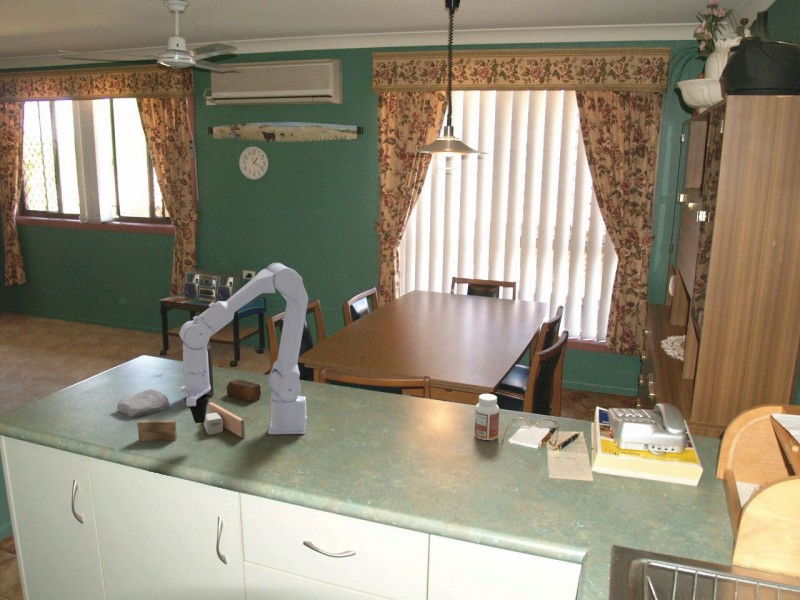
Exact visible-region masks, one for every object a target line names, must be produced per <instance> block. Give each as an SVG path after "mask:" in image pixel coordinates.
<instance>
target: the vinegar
mask: <svg viewBox="0 0 800 600" xmlns="http://www.w3.org/2000/svg"><path fill="white" fill-rule="evenodd" d="M207 351H208V365H209V381H210V386H211V390H210V391H211V396H210V398H212V397H213V396H214V395H215V394H214V374H213V373H214V371H213V356H212V355H213V353H212V352H213V351H212V346H211V345H210V344H209V343H208V344H207Z"/></svg>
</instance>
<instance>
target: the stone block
mask: <svg viewBox="0 0 800 600" xmlns="http://www.w3.org/2000/svg"><path fill="white" fill-rule="evenodd" d="M168 408H170V402H169V398H168V397H167V395H165V393H163V392H161V391H159V390H158V389H152V388H151V389H150V388H149V389H146V390H143V391H141V392H138V393H137V394H136V395H134V396H132V397H128V398H126V397H123V398H120V399H119V400H118V402H117V411H118V412H119V413H121V414H124V415H127V416H128V417H130V418H136V417H140V416H145V415H150V414H155V413H159V412H163V411H164V410H166V409H168Z"/></svg>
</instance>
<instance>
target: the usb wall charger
mask: <svg viewBox="0 0 800 600" xmlns="http://www.w3.org/2000/svg"><path fill="white" fill-rule="evenodd" d="M203 428H204V429H205V431H206V434H208V435H214V434H219V432H220V433H222V432H223V431H224V427H223V420H222V418H221V417H220V415H219V413H217V412H216V413H210V414H209V413H206V417H205V421H204V423H203Z"/></svg>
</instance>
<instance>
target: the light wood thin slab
mask: <svg viewBox="0 0 800 600" xmlns="http://www.w3.org/2000/svg"><path fill="white" fill-rule="evenodd" d="M216 412H217V413H219V415H220V417H221V418H222V420H223V428H225V429H226V430H228V431H230V432H232V433H233V434H235V435H237V436H239V437H240V438H245V437H246V435H245V434H246V432H245V430H246V429H245V419H244V418H242V417H240V416H238V415H236V414H234V413H232V412H230V411H229V410H227V409H226V408H224V407H222V406H220V405H218V404H216V403H214V402H213V401H212V402H208V414H210V413H216Z"/></svg>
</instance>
